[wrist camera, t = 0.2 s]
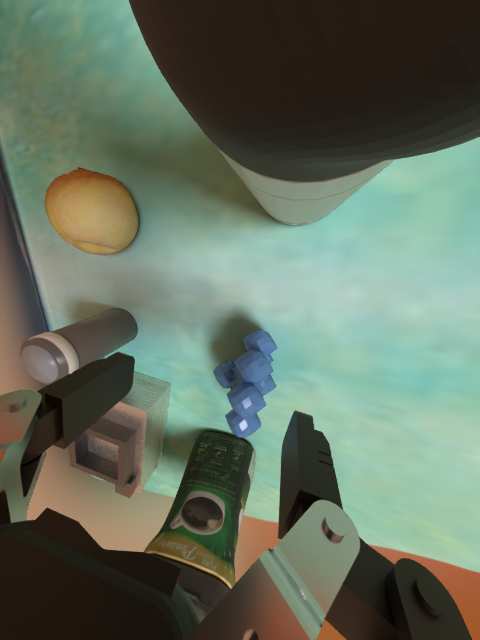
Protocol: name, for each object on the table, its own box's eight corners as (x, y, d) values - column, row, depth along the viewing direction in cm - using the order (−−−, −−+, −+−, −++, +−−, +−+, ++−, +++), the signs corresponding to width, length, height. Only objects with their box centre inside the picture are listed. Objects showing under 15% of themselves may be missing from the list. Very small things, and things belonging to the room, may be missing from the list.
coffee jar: (196, 460, 37) (114, 645, 20) (198, 423, 35) (106, 600, 17) (253, 477, 36) (217, 694, 18) (260, 440, 33) (226, 653, 16)
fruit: (89, 234, 29) (18, 231, 21) (108, 167, 25) (32, 135, 18) (139, 267, 28) (85, 275, 21) (164, 204, 25) (111, 187, 18)
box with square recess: (106, 361, 35) (55, 393, 27) (171, 383, 33) (136, 423, 26) (106, 436, 40) (64, 479, 33) (161, 458, 39) (131, 508, 32)
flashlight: (105, 303, 31) (11, 332, 21) (139, 313, 31) (60, 348, 20) (105, 336, 33) (19, 379, 23) (137, 346, 32) (64, 395, 22)
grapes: (233, 304, 27) (193, 344, 16) (289, 315, 26) (287, 366, 15) (223, 383, 31) (185, 460, 20) (271, 395, 30) (258, 483, 19)
